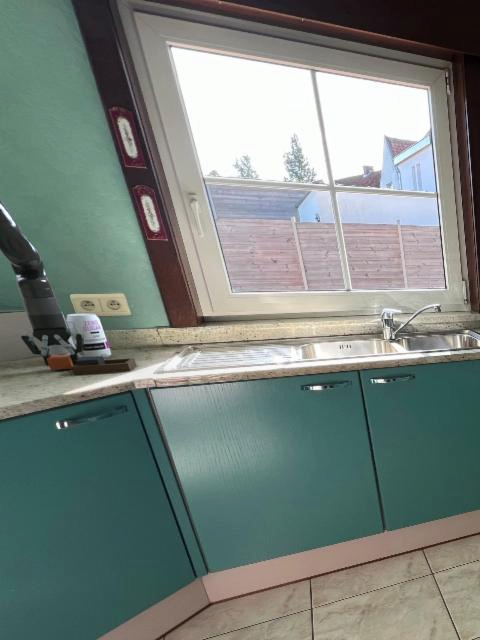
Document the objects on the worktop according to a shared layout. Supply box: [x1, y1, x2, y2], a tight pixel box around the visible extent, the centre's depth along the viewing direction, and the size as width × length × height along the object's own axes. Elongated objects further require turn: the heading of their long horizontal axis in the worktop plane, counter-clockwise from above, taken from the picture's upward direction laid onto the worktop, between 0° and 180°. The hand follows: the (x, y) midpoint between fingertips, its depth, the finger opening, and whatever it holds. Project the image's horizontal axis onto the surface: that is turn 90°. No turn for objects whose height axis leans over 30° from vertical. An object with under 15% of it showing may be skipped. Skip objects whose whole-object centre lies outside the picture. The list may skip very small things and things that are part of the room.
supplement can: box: [65, 312, 112, 359], centre depth 173 cm, size 8×8×15 cm
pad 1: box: [47, 355, 74, 371], centre depth 158 cm, size 5×6×4 cm
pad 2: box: [76, 356, 105, 366], centre depth 157 cm, size 5×6×4 cm
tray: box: [72, 357, 137, 376], centre depth 159 cm, size 13×9×3 cm
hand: (64, 366), depth 159 cm, fingers closed on pad 1, 5 cm apart
